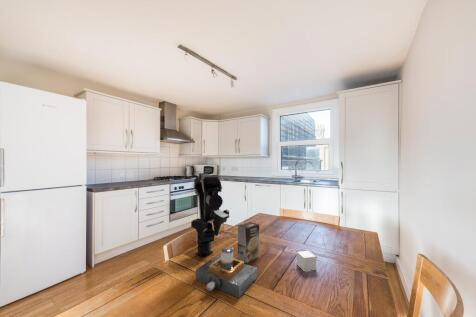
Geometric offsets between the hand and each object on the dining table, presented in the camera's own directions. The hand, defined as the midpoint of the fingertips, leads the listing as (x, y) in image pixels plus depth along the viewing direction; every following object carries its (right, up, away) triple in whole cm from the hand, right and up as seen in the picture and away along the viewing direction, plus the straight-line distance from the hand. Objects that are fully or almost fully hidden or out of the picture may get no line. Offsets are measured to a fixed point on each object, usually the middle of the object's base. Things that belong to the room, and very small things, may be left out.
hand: (210, 238), depth 89 cm
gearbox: (+7, -12, -12) cm, 18 cm away
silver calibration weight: (+8, -8, -10) cm, 15 cm away
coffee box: (+18, -13, +8) cm, 23 cm away
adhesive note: (+43, -13, -1) cm, 45 cm away
